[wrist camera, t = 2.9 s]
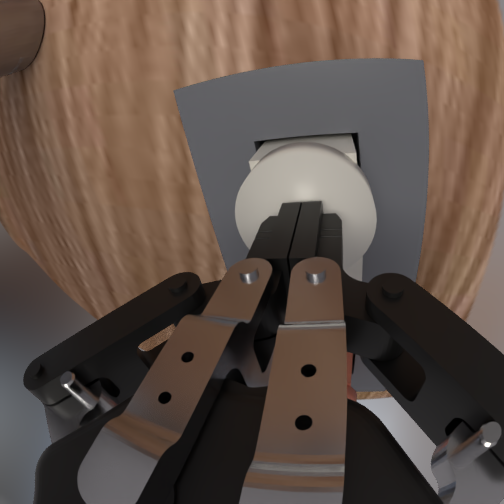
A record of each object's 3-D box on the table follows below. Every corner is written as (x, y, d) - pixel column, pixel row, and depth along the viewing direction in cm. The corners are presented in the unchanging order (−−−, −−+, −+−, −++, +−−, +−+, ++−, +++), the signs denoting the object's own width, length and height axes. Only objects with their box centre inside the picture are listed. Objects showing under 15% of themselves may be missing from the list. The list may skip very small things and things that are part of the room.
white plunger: (263, 121, 16) (219, 161, 10) (356, 113, 14) (375, 148, 9) (278, 203, 19) (250, 277, 14) (363, 199, 18) (374, 276, 12)
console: (220, 79, 18) (171, 91, 12) (392, 60, 14) (424, 60, 9) (280, 334, 33) (266, 388, 27) (383, 336, 29) (385, 392, 24)
